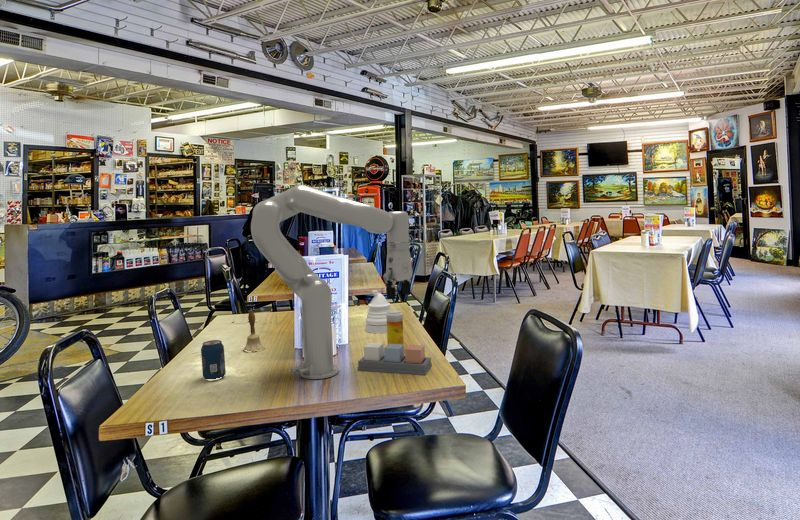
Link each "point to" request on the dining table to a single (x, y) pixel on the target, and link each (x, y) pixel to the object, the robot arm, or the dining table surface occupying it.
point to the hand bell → (253, 335)
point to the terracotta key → (415, 354)
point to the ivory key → (374, 351)
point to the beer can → (394, 327)
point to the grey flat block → (395, 366)
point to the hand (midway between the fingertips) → (399, 296)
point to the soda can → (213, 359)
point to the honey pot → (377, 314)
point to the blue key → (394, 352)
